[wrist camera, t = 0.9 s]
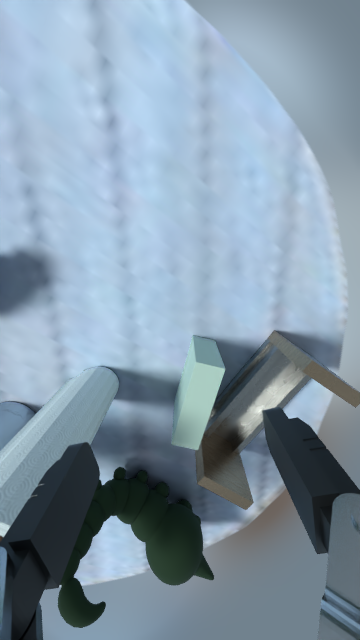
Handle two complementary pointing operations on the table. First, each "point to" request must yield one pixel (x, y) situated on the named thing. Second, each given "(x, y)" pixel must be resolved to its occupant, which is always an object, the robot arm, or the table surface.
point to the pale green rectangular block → (196, 392)
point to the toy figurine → (148, 526)
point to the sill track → (256, 412)
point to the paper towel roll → (52, 437)
